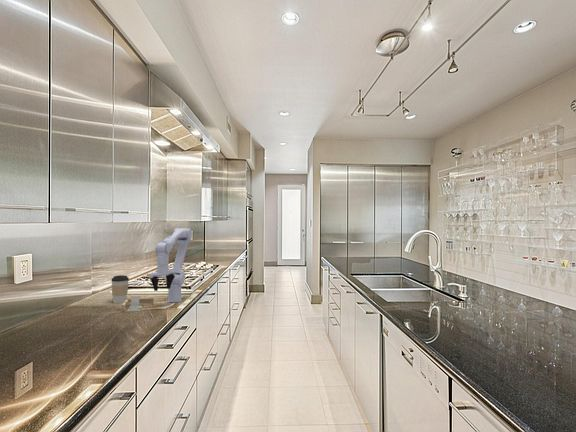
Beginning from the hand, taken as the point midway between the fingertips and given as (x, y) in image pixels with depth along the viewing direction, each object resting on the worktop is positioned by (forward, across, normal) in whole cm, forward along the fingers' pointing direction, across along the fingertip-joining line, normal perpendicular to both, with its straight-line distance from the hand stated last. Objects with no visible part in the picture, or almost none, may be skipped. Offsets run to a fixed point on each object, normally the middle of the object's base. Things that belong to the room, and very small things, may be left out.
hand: (162, 289), depth 177 cm
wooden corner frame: (+10, +8, -9) cm, 16 cm away
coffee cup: (+10, +8, -29) cm, 32 cm away
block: (+10, +11, -8) cm, 16 cm away
